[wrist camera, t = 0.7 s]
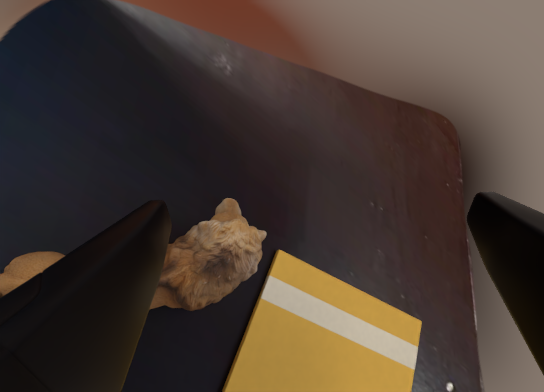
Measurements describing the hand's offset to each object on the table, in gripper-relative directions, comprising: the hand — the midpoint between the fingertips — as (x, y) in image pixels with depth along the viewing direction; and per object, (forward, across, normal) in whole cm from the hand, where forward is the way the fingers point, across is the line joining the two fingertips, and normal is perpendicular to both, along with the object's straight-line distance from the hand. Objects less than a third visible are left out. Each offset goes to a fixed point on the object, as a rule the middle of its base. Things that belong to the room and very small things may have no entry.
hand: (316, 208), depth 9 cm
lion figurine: (+6, +11, +10) cm, 16 cm away
